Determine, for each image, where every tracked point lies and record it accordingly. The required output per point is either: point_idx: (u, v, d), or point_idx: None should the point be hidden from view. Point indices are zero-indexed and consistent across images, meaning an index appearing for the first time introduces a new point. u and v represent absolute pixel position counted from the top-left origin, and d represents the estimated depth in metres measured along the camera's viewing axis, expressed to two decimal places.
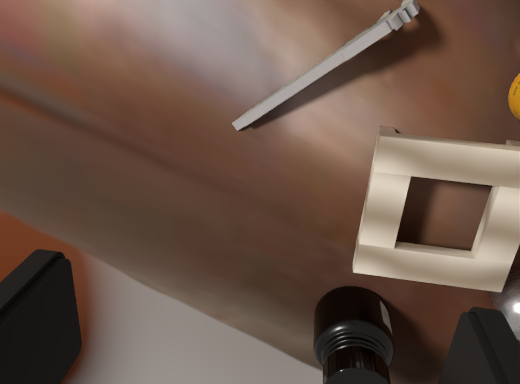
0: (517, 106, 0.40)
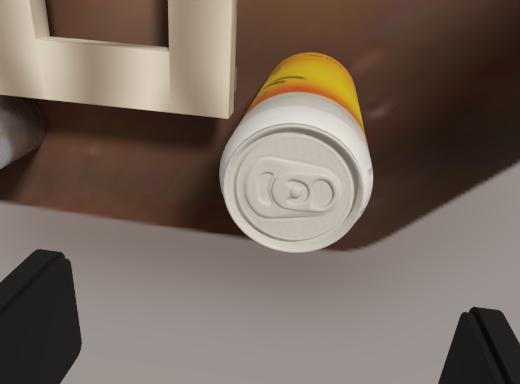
0: (295, 59, 0.26)
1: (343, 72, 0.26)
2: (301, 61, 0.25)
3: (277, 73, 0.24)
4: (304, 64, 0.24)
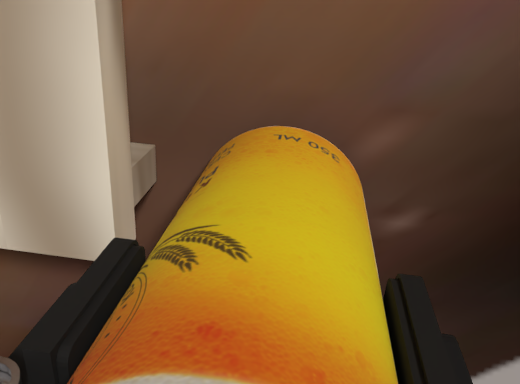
0: (248, 150, 0.13)
1: (341, 175, 0.13)
2: (257, 159, 0.12)
3: (203, 192, 0.12)
4: (260, 174, 0.12)
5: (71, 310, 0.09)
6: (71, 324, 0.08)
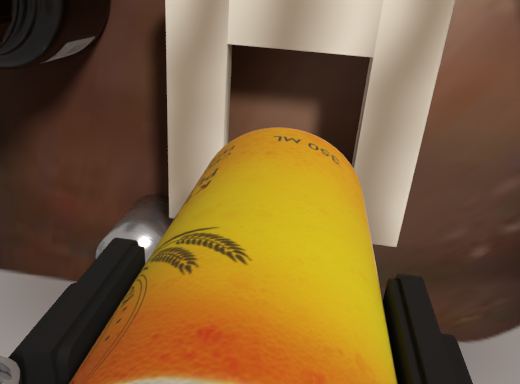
0: (248, 152, 0.13)
1: (341, 177, 0.13)
2: (257, 161, 0.13)
3: (203, 194, 0.12)
4: (260, 176, 0.12)
5: (71, 310, 0.09)
6: (71, 324, 0.08)
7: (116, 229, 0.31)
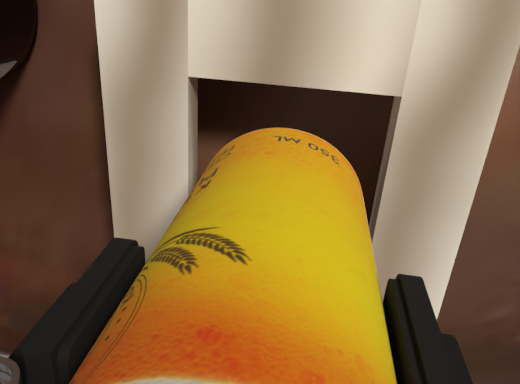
0: (248, 152, 0.13)
1: (341, 177, 0.13)
2: (256, 161, 0.13)
3: (203, 194, 0.12)
4: (259, 176, 0.12)
5: (71, 310, 0.09)
6: (71, 324, 0.08)
7: None
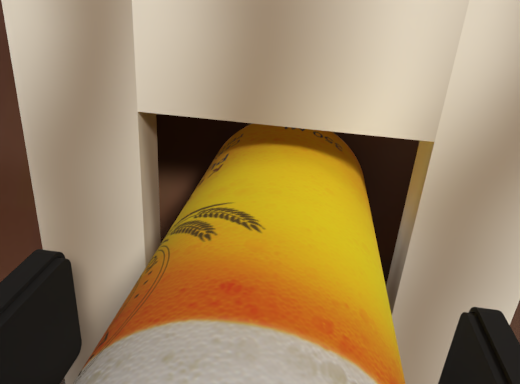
0: (257, 139, 0.14)
1: (344, 162, 0.14)
2: (265, 146, 0.13)
3: (216, 176, 0.12)
4: (269, 159, 0.12)
5: None
6: None
7: None
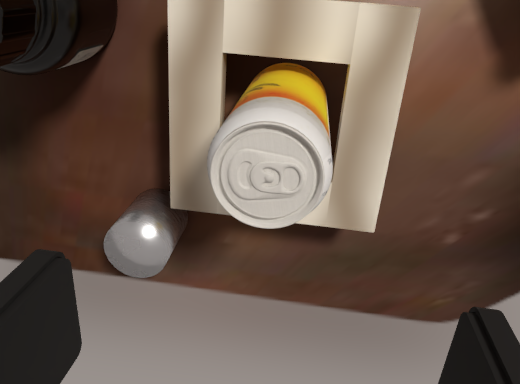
0: (273, 69, 0.30)
1: (314, 80, 0.30)
2: (278, 70, 0.29)
3: (257, 81, 0.28)
4: (280, 73, 0.28)
5: None
6: None
7: (122, 219, 0.34)
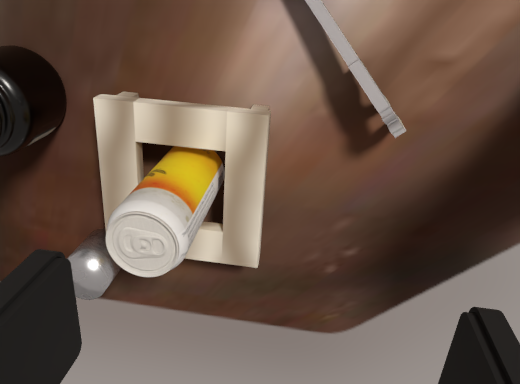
0: (177, 149, 0.41)
1: (207, 157, 0.41)
2: (178, 152, 0.40)
3: (160, 162, 0.39)
4: (177, 156, 0.39)
5: None
6: None
7: (72, 255, 0.45)
